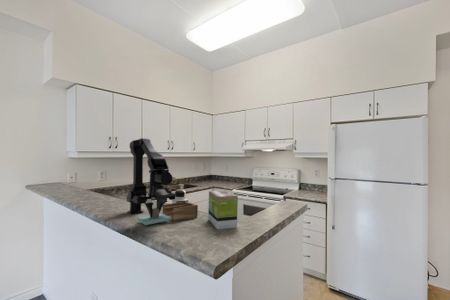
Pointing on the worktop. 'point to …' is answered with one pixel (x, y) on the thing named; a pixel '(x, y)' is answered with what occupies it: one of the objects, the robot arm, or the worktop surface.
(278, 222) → the worktop surface
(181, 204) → the box
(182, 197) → the medicine bottle
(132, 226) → the worktop surface
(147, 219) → the cover plate
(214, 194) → the tea box
